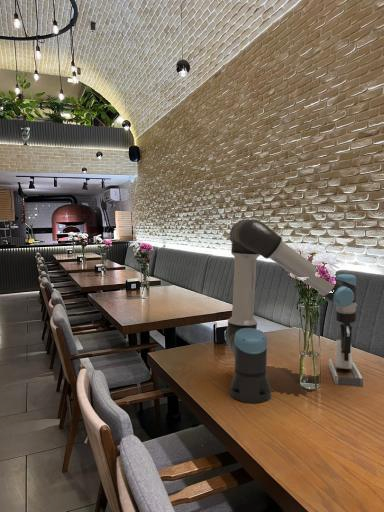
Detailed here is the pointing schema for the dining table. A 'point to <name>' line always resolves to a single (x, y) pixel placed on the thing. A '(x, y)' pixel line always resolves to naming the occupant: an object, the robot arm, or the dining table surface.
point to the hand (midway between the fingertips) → (345, 367)
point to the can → (339, 355)
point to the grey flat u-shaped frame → (346, 380)
